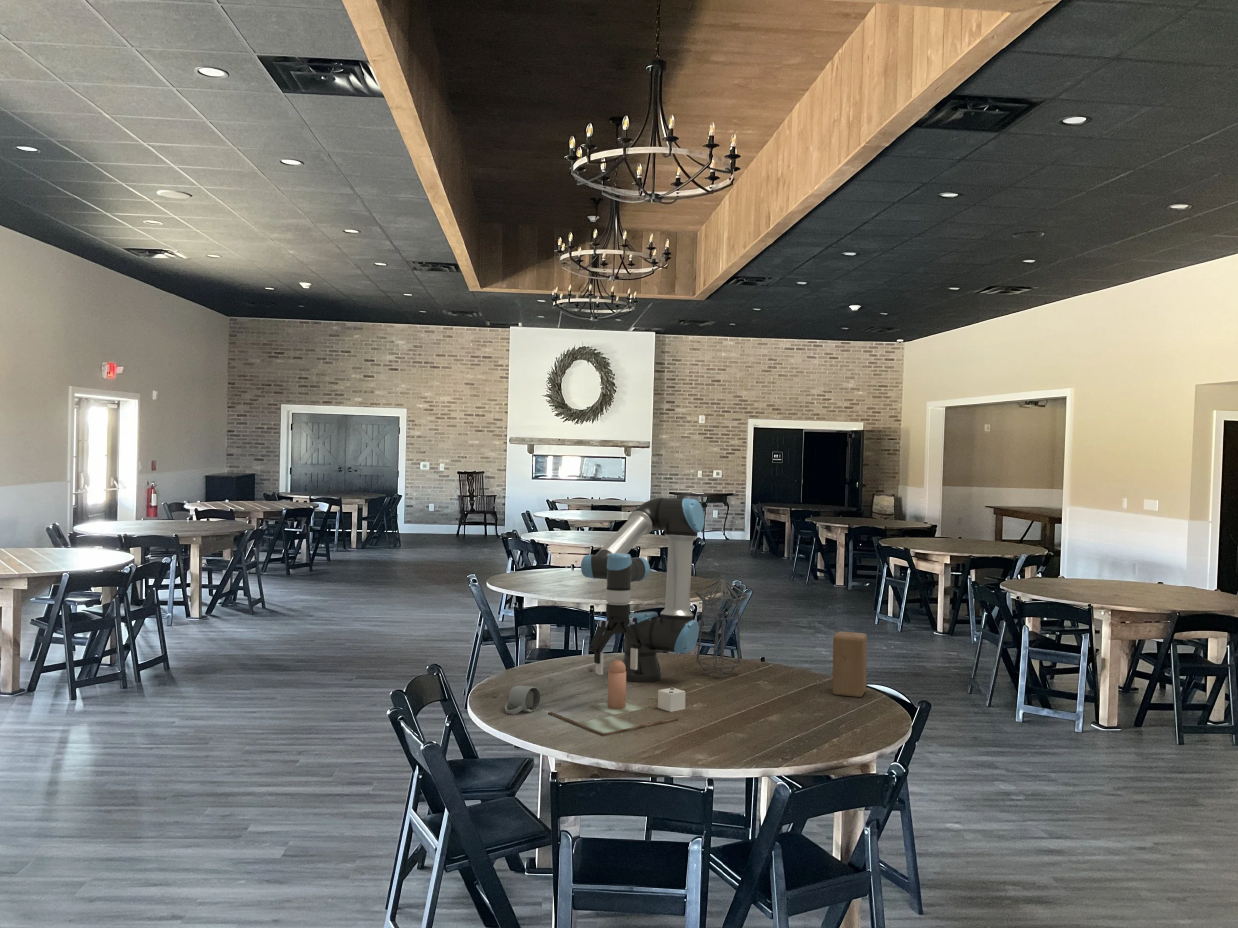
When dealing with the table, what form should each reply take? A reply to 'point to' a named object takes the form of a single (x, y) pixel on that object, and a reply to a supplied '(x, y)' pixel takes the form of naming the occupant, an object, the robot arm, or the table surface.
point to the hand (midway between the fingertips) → (616, 671)
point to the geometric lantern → (726, 585)
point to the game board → (611, 720)
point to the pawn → (617, 685)
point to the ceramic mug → (523, 699)
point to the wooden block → (849, 664)
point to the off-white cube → (671, 699)
